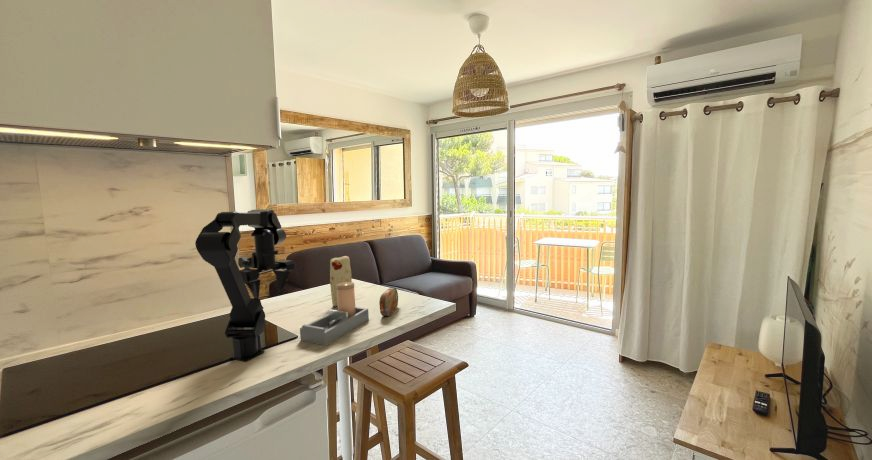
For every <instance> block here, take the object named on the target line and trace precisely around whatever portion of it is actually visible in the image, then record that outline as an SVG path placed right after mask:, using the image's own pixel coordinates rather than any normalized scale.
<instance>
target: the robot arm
mask: <svg viewBox="0 0 872 460" xmlns="http://www.w3.org/2000/svg"><path fill="white" fill-rule="evenodd" d="M240 226H248V227H250V228H253V229H254V230H253V231H252V232H251V234H250V237H253V239H254V251H253V252H252V253H251V257H248V258H247V256H241V257H238V259H237V260H238V261H237V260H236V256H237V253H238V250H239V248H238V244H239V242H240V240H241V238H242V235H241V231H240ZM229 227H230V228H231V227H232V229H231V232H230V231H221V230H223V228H229ZM286 239H287V233H286V231H285V229H284V228H282V225H281V223H280V221H279V218H278V215H277V214H276V212H275V211H274V209H271V208H270V209H265V208H264V209H249V210H248V211H247V212H237V211H221V212H219V213H217V214H216V216H215V217H214V219H213V220H212V221H210V222H209V223H208V224H206V225H205V226H204V227H203V228H201V230H200V232H199V234H198V235H197V238H196V240H195V241H194V242H195V249H196V251H197V252H198V254H199V255H200V257H201V258H202V260H203V261H204V262H206V263H208V264H209V265H210V266H213V268H214V269H215V272H216V273H217V276H218V279H219V281H220V282H221V285H222V287H223V289H224V291H225V294H226V297H227V298H228V300H229V302H230V304H231V305H230V306H231V309H230V312H229V320H228V323H227V326H226V329H225V331H224V335H225V336H226V339H229V338H231V339H232V349H233V350H232V352H233V354H231V355H230V356H229V358H230V359H233V360H237V361H241V362H248V361H250V360H251V359H254V358H255V357H257V356H259V355H261V354H263V353H265V350H264V349H262V341H261V334H262V333H264V331H265V322H266V313H265V311H264V306H263V305H262V302H261V299H259V298H260V288H261V279H259V278H260V275H264V274H267V273H271V272H273V273H274V275H275V276H276V277H275V278H276V289H277V292H278V293H281V292H282V291H283V288H284V286H285V284H286V282H287V280H288V278H289V276H290V274H291V273H292V272H293V270H294V269H295V263H294V261H293V260H290V259H279V260H276V255H278V254H279V251H278V250H276V247H275V246H277V245H279V244H282V243H284V242H285V241H286ZM237 262H238V263H237ZM239 268H241V269H239ZM247 287H248V288H247ZM248 289H249V290H248ZM249 291H250V293H251V294H252V297H251V296H250V293H249ZM247 328H248V329H247ZM249 328H250V329H249Z"/></svg>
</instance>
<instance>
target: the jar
mask: <svg viewBox="0 0 872 460" xmlns="http://www.w3.org/2000/svg"><path fill="white" fill-rule="evenodd" d="M336 289H337V302H338V306H337V310H338V311H345V312H348V318H349V317H351V316H353V315H355V314H356V308H355V307H356V296H355V295H356V293H355V283H354V282H353V281H352V282H342V283H338V284H337V285H336Z"/></svg>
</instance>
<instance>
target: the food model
mask: <svg viewBox="0 0 872 460" xmlns="http://www.w3.org/2000/svg"><path fill="white" fill-rule="evenodd" d="M329 261H330V262H329V263H330V264H329V266H330V267H329V272H330V273H329V276H330V277H329V284H330V296H331V302H332V305H333V306H334V307H338V302H337V289H336V285H337V284H338V283H342V282H353V281H352V280H353V279H352V268H351V260H350V257H349V256H347V255H344V256H340V257H334V258H331V259H330V260H329Z"/></svg>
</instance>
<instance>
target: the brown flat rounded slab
mask: <svg viewBox="0 0 872 460" xmlns="http://www.w3.org/2000/svg"><path fill="white" fill-rule="evenodd" d="M398 304H399V294H398V290H397V288H396V287H392V288H390V287H389V288H388V289H386V290H385V291H384V292H383V293H382V294H381V295H380V298H379V311H380V315H381V316H383V317H390V316H391V315H392V314H393V313H394V312H395V311H396V310H397V308H398V306H399V305H398Z"/></svg>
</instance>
